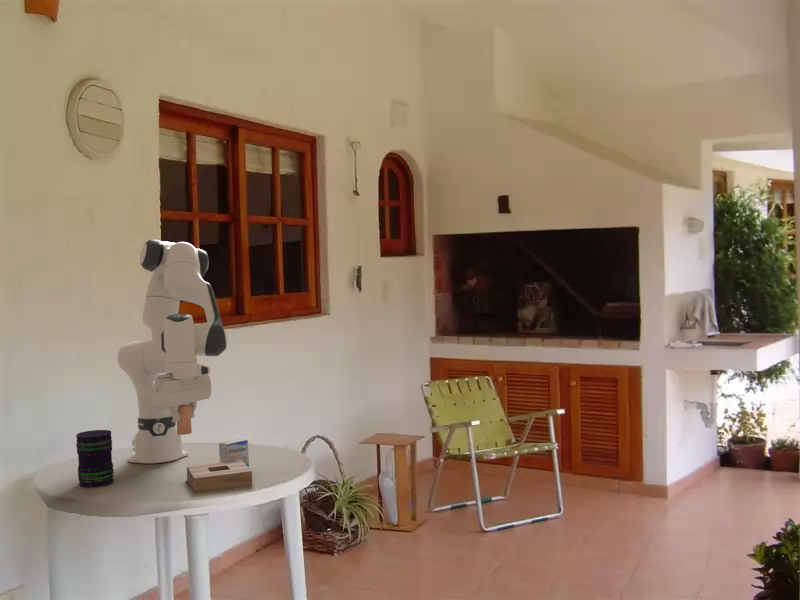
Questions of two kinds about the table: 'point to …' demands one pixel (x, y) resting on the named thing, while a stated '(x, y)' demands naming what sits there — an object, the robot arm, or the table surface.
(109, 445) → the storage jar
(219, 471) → the socket block
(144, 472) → the table surface
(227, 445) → the medicine box
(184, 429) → the peg
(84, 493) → the table surface
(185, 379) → the robot arm
